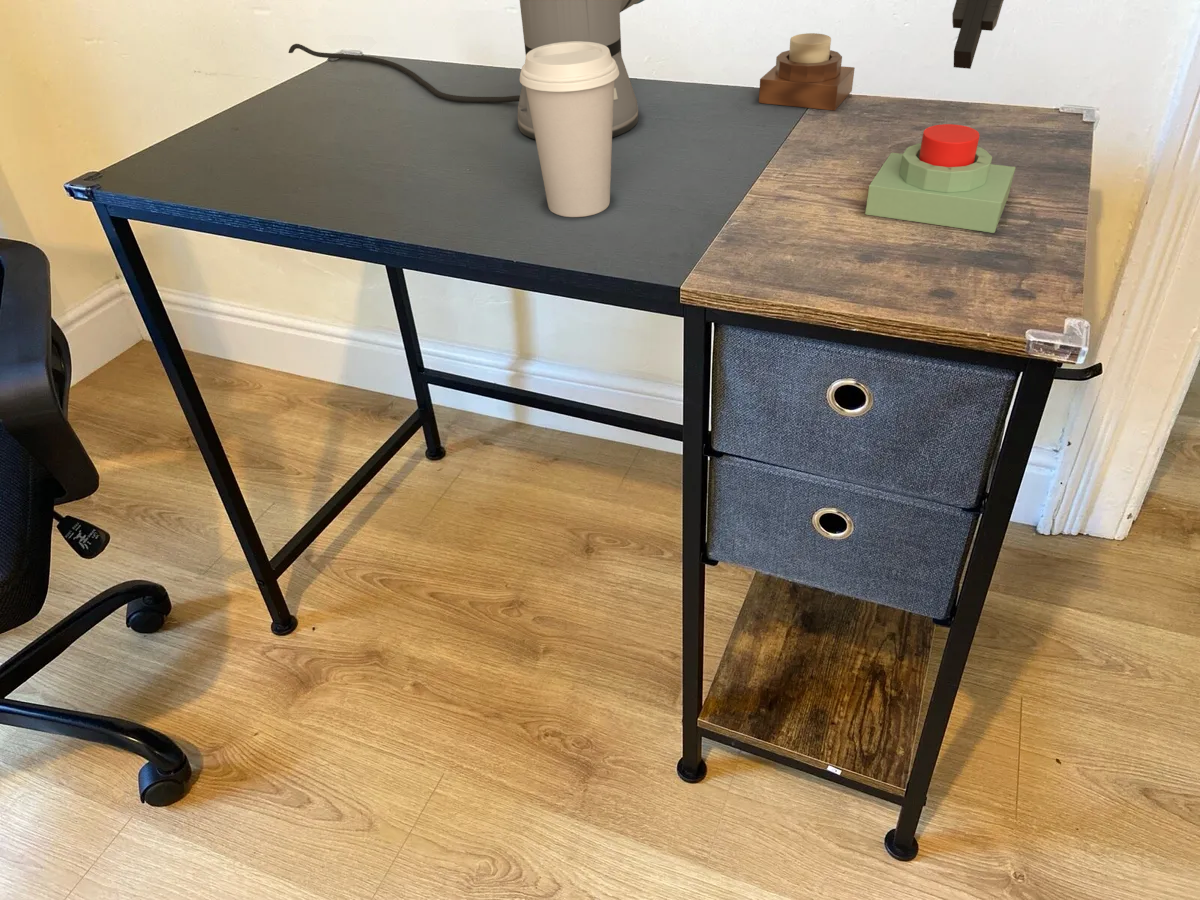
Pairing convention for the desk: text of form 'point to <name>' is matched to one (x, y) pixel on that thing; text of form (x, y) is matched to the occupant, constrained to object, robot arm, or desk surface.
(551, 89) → the coffee cup
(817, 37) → the far button
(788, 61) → the wooden square base
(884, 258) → the desk surface
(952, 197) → the sage console
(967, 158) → the near button
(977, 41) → the robot arm
